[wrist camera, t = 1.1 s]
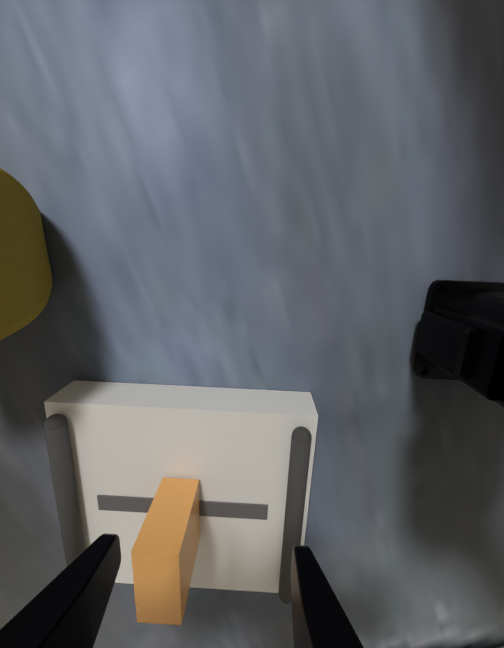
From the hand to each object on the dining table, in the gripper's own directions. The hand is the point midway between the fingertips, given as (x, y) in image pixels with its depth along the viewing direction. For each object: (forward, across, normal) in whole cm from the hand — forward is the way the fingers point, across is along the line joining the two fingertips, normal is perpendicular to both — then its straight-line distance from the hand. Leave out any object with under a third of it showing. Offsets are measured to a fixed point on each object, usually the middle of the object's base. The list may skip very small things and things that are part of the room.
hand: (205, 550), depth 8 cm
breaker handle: (+10, +4, +10) cm, 14 cm away
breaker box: (+13, +4, +10) cm, 16 cm away
